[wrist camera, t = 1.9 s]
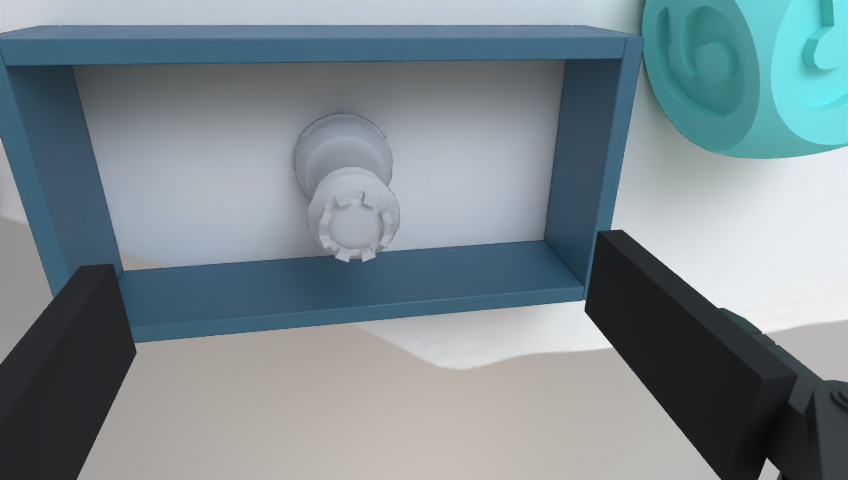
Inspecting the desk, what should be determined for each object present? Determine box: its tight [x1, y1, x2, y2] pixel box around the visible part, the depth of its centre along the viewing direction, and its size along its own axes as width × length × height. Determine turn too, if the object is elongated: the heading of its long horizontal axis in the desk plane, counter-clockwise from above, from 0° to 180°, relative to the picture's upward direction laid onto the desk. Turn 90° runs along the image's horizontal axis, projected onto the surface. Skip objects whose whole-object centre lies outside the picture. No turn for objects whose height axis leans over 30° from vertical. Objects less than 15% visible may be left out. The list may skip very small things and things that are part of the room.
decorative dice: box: [642, 0, 848, 159], centre depth 22 cm, size 8×8×8 cm
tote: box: [0, 25, 645, 343], centre depth 23 cm, size 23×12×5 cm, turn 89°
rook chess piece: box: [294, 114, 400, 262], centre depth 22 cm, size 4×4×8 cm
